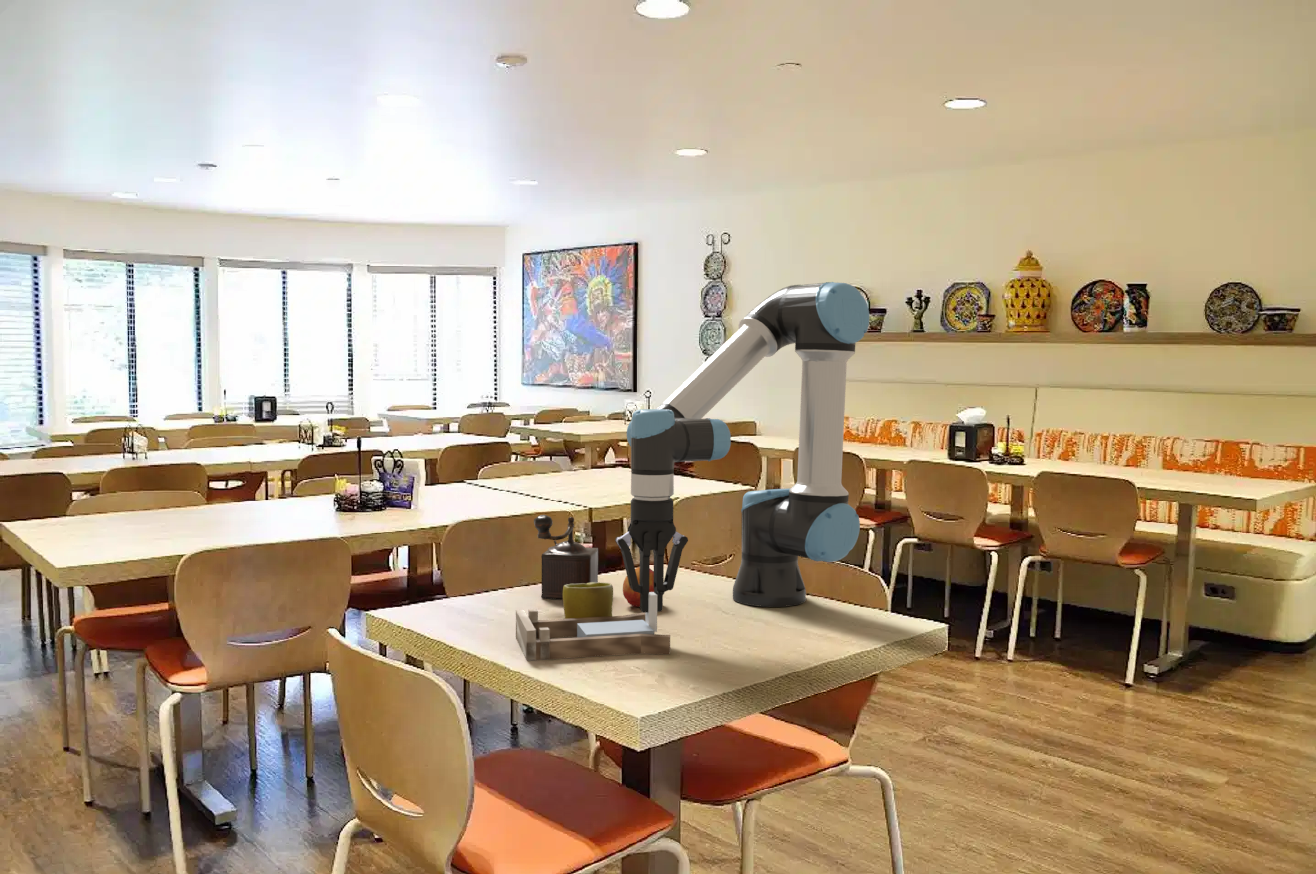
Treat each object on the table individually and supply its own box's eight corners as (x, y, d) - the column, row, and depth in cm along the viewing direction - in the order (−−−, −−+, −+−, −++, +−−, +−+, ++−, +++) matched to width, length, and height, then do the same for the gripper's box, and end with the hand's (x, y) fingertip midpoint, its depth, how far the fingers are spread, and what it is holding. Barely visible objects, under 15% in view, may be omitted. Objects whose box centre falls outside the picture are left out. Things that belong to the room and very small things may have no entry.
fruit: (666, 609, 218) (666, 569, 217) (627, 611, 216) (627, 571, 215) (657, 601, 226) (657, 562, 225) (618, 603, 224) (618, 564, 223)
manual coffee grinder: (549, 588, 237) (549, 506, 236) (599, 590, 236) (599, 507, 234) (530, 604, 222) (530, 516, 221) (584, 606, 220) (584, 517, 219)
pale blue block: (642, 639, 196) (643, 619, 196) (654, 650, 189) (654, 630, 188) (577, 643, 193) (577, 623, 193) (586, 655, 185) (586, 634, 185)
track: (646, 628, 203) (646, 601, 202) (672, 654, 185) (672, 625, 185) (514, 635, 197) (514, 608, 196) (528, 663, 179) (528, 633, 179)
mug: (613, 626, 196) (600, 572, 198) (561, 640, 199) (548, 587, 200) (632, 623, 208) (619, 572, 210) (583, 637, 210) (570, 586, 212)
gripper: (682, 493, 197) (680, 623, 199) (611, 495, 194) (610, 627, 195) (693, 499, 190) (692, 633, 191) (620, 501, 186) (619, 637, 188)
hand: (651, 630), depth 193 cm, fingers closed
